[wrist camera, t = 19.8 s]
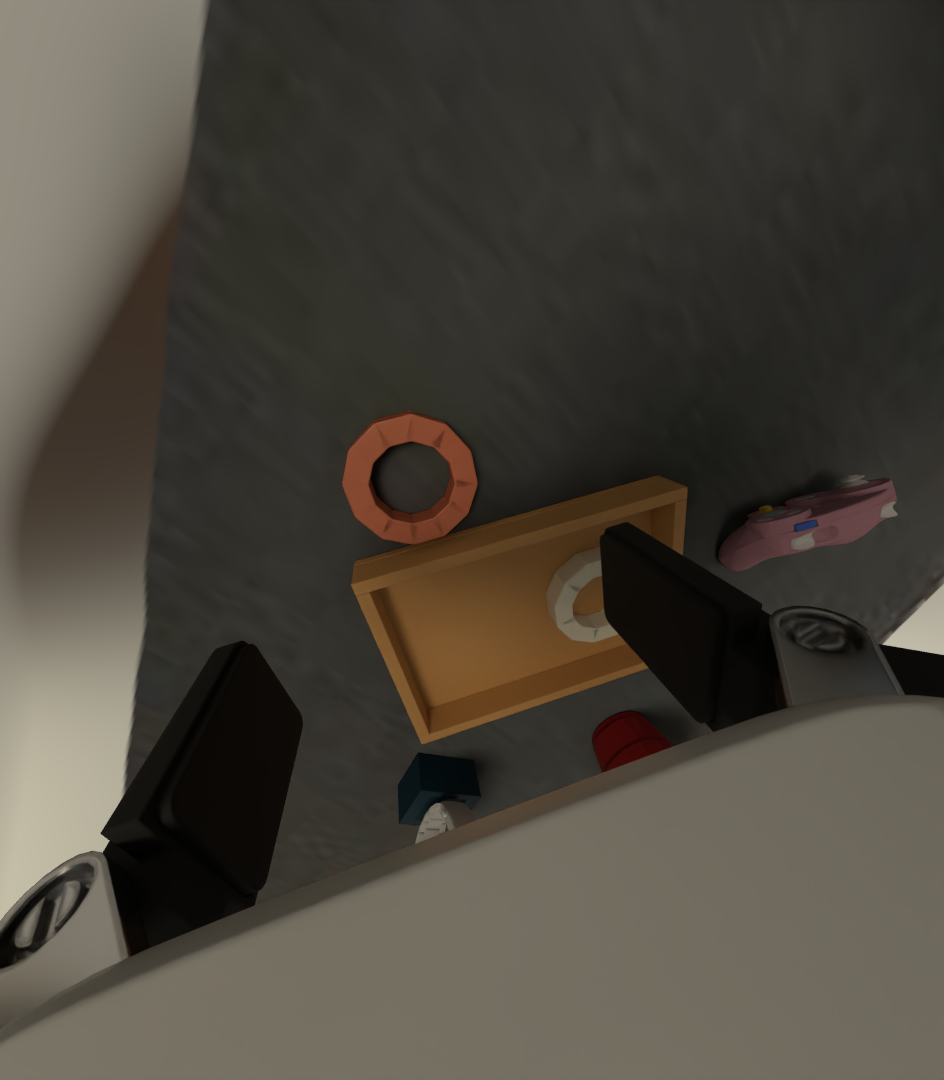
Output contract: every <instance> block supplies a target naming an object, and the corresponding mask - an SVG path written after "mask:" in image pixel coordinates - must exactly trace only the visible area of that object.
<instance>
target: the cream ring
mask: <svg viewBox="0 0 944 1080" xmlns="http://www.w3.org/2000/svg"><path fill="white" fill-rule="evenodd" d="M600 576H602V571H601V555H600V547H596V548H593V549H590V550H587V551H583V552H580V553H577V554H575V555H574V556H573V557H572V558H571V559H569V560H568V561H567V562H566V563H565V564H564V565H562V566H561V567H560V568H559V569H558V570H557V571H556V572H555V574H554V576H553V578H552V581H551V583H550V585H549V587H548V590H547V592H546V600H547V607H548V614H549V615H550V617H551V618H552V620H553V621H554V623H555V625H556V626H557V627H558V628H559V629H560V630H561V631H562V632H563V633H564V634H565V635H566V636H567V637H569V638H570V639H571V640H575V641H583V642H591V643H594V642H597V641H600V640H603V639H606V638H609V637H612V636H615V635H617V634H618V633H617V632H616V631H615V630H614V629H613V627H612V626H611V625H610V624H609V623H608V621H607V619H606V617H605V613H604V608H603V609H602V610H601V611H599V612H596V613H593V614H589V615H586V616H585V615H578V614H573V606H572V605H573V603H574V601H575V598H576V596H577V594H578V592H579V590H580V589H581V588H583V587H584V586H585V585H586V584H587V583H589V582H590V581H591V580H592V579H593V578H596V577H600Z"/></svg>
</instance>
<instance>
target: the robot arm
mask: <svg viewBox="0 0 944 1080" xmlns="http://www.w3.org/2000/svg"><path fill="white" fill-rule="evenodd" d="M600 555H601V571H602V586H603V602H604V613H605V617H606V619H607V621H608V623H609V624H610V625H611V626H612V627H613V629H614V630H615V631H616V632H617V633H618V634H619V635H620V636H621V638H622V639H623V640H624V641H625V642H626V643H627V644H628V645H629V646H630V648H631V649H632V650H633V651H634V652H635V653H636V654H637V655H638V657H639V658H640V659H641V660H642V661H643V662H644V663H645V664H646V666H647V667H648V668H649V669H650V670H651V671H652V672H653V673H654V674H655V676H656V677H657V678H658V679H659V680H660V681H661V682H662V683H663V685H664V686H665V687H666V688H667V689H668V690H669V691H670V692H671V694H672V695H673V696H674V697H675V698H676V699H677V700H678V701H679V702H680V704H681V705H682V706H683V707H684V708H685V709H686V710H687V711H688V713H689V714H690V715H691V716H692V717H693V718H694V719H695V720H696V721H697V722H699V723H706V724H707V725H708V726H709V727H710V729H711V730H712V731H713V732H712V733H710V734H707V735H704V736H701V737H698V738H695V739H693V740H690V741H687V742H684V743H681V744H679V745H676V746H673V747H671V748H668V749H665V750H662V751H660V752H657V753H654V754H652V755H649V756H646V757H644V758H641V759H638V760H636V761H633V762H630V763H628V764H625V765H622V766H620V767H617V768H614V769H612V770H609V771H606V772H603V773H601V774H598V775H595V776H593V777H590V778H587V779H585V780H582V781H579V782H577V783H574V784H571V785H569V786H566V787H563V788H561V789H558V790H555V791H553V792H550V793H547V794H545V795H542V796H539V797H537V798H534V799H532V800H529V801H526V802H524V803H521V804H518V805H516V806H513V807H510V808H508V809H505V810H502V811H500V812H497V813H495V814H492V815H489V816H487V817H484V818H481V819H479V820H476V821H473V822H471V823H468V824H466V825H463V826H460V827H458V828H455V829H452V830H450V831H447V832H445V833H442V834H439V835H437V836H434V837H431V838H429V839H426V840H424V841H421V842H418V843H416V844H413V845H410V846H408V847H405V848H403V849H400V850H397V851H395V852H392V853H389V854H387V855H384V856H382V857H379V858H377V859H374V860H371V861H369V862H366V863H364V864H361V865H358V866H356V867H353V868H351V869H348V870H345V871H343V872H340V873H338V874H335V875H332V876H330V877H327V878H325V879H322V880H319V881H317V882H314V883H312V884H309V885H307V886H304V887H301V888H299V889H296V890H294V891H291V892H288V893H286V894H283V895H281V896H278V897H275V898H273V899H270V900H268V901H265V902H262V903H260V904H257V905H255V902H256V897H257V893H258V891H259V890H261V889H262V888H263V886H264V884H265V883H266V880H267V877H268V872H269V868H270V864H271V860H272V855H273V851H274V847H275V843H276V838H277V834H278V830H279V826H280V821H281V817H282V813H283V809H284V804H285V800H286V796H287V792H288V787H289V783H290V779H291V775H292V770H293V766H294V762H295V758H296V753H297V749H298V745H299V741H300V736H301V732H302V727H303V721H302V716H301V714H300V712H299V710H298V709H297V707H296V706H295V704H294V703H293V701H292V700H291V698H290V697H289V695H288V694H287V692H286V691H285V689H284V688H283V686H282V685H281V683H280V682H279V680H278V679H277V677H276V676H275V674H274V672H273V671H272V669H271V668H270V666H269V665H268V663H267V662H266V660H265V659H264V657H263V656H262V654H261V653H260V651H259V650H258V648H257V647H256V646H255V645H253V644H249V645H248V643H246V642H244V641H239V642H236V643H233V644H230V645H226V646H223V647H220V648H217V649H215V651H214V652H213V653H212V655H211V656H210V658H209V659H208V661H207V663H206V664H205V666H204V667H203V669H202V671H201V672H200V674H199V676H198V677H197V679H196V680H195V682H194V684H193V685H192V687H191V688H190V690H189V692H188V693H187V695H186V696H185V698H184V700H183V701H182V703H181V705H180V706H179V708H178V709H177V711H176V713H175V714H174V716H173V717H172V719H171V721H170V722H169V724H168V725H167V727H166V729H165V730H164V732H163V734H162V735H161V737H160V738H159V740H158V742H157V743H156V745H155V746H154V748H153V750H152V751H151V753H150V755H149V756H148V758H147V759H146V761H145V763H144V764H143V766H142V767H141V769H140V771H139V772H138V774H137V775H136V777H135V779H134V780H133V782H132V784H131V785H130V787H129V788H128V790H127V792H126V793H125V795H124V796H123V798H122V800H121V801H120V803H119V804H118V806H117V808H116V809H115V811H114V813H113V814H112V816H111V817H110V819H109V821H108V822H107V824H106V825H105V827H104V829H103V830H102V832H101V834H102V835H103V836H104V837H106V838H107V839H108V840H110V841H109V843H108V845H107V846H106V848H105V850H104V851H103V853H102V852H96V851H90V852H86V853H83V854H79V855H77V856H75V857H74V858H71V859H69V860H67V861H66V862H64V863H62V864H61V865H59V866H58V867H56V868H55V869H53V870H52V871H51V872H49V873H48V874H46V875H45V876H44V877H43V878H42V879H40V880H39V881H38V882H37V883H36V884H35V885H34V886H32V887H31V888H30V889H29V890H28V891H27V892H26V893H25V894H24V895H23V896H22V897H21V898H20V899H19V900H18V901H17V902H16V903H15V904H14V905H13V906H12V908H11V909H10V910H9V911H8V912H7V913H6V914H5V915H4V917H3V918H2V919H1V921H0V1080H944V655H940V654H933V653H928V652H922V651H916V650H910V649H904V648H898V647H893V646H886V645H881V644H878V643H877V641H876V639H875V638H874V637H873V635H872V634H871V633H870V632H869V630H868V629H866V628H865V627H864V626H862V625H861V624H859V623H858V622H857V621H855V620H853V619H851V618H849V617H847V616H844V615H842V614H840V613H837V612H833V611H830V610H827V609H822V608H817V607H811V606H791V607H785V608H782V609H779V610H777V611H775V612H774V613H773V614H772V615H769V614H768V613H766V612H765V611H763V610H761V608H762V604H761V603H760V602H758V601H756V600H755V599H753V598H752V597H750V596H748V595H747V594H745V593H743V592H742V591H740V590H738V589H737V588H735V587H734V586H732V585H730V584H729V583H727V582H725V581H724V580H722V579H721V578H719V577H717V576H716V575H714V574H712V573H711V572H709V571H707V570H706V569H704V568H703V567H701V566H699V565H698V564H696V563H694V562H693V561H691V560H689V559H688V558H686V557H685V556H683V555H681V554H680V553H678V552H676V551H675V550H673V549H671V548H670V547H668V546H667V545H665V544H663V543H662V542H660V541H658V540H657V539H655V538H654V537H652V536H650V535H649V534H647V533H645V532H644V531H642V530H640V529H639V528H637V527H636V526H634V525H632V524H631V523H628V522H624V523H621V524H617V525H614V526H611V527H608V528H606V529H605V531H604V534H603V535H601V536H600Z"/></svg>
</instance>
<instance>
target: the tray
mask: <svg viewBox="0 0 944 1080" xmlns="http://www.w3.org/2000/svg"><path fill="white" fill-rule="evenodd" d="M687 492H688V487H686V486H684V485H681V484H679V483H676V482H674V481H671V480H669V479H666V478H663V477H661V476H659V475H656V476H652V477H649V478H645V479H642V480H638V481H635V482H631V483H628V484H624V485H621V486H617V487H614V488H610V489H607V490H603V491H600V492H596V493H593V494H589V495H586V496H582V497H579V498H575V499H572V500H568V501H565V502H561V503H558V504H554V505H551V506H547V507H544V508H540V509H537V510H533V511H530V512H526V513H523V514H519V515H516V516H512V517H508V518H505V519H501V520H498V521H494V522H491V523H487V524H484V525H480V526H477V527H473V528H470V529H466V530H463V531H459V532H456V533H452V534H449V535H445V536H443V537H439V538H436V539H432V540H429V541H425V542H422V543H418V544H414V545H410V546H407V547H403V548H400V549H396V550H393V551H389V552H386V553H382V554H379V555H375V556H372V557H368V558H365V559H361V560H357V561H355V564H354V571H353V577H352V582H351V586H352V588H353V591H354V593H355V595H356V598H357V600H358V602H359V604H360V607H361V609H362V611H363V613H364V616H365V618H366V620H367V622H368V625H369V627H370V629H371V631H372V633H373V636H374V638H375V640H376V642H377V645H378V647H379V649H380V651H381V654H382V656H383V658H384V660H385V663H386V665H387V667H388V669H389V672H390V674H391V676H392V678H393V681H394V683H395V685H396V687H397V690H398V692H399V694H400V696H401V699H402V701H403V703H404V705H405V708H406V710H407V712H408V714H409V717H410V719H411V721H412V723H413V726H414V728H415V730H416V732H417V735H418V737H419V739H420V741H421V743H422V744H425V743H428V742H431V741H434V740H437V739H440V738H443V737H446V736H449V735H452V734H455V733H457V732H460V731H463V730H466V729H469V728H472V727H475V726H478V725H481V724H484V723H487V722H490V721H493V720H496V719H499V718H502V717H505V716H508V715H511V714H514V713H517V712H520V711H523V710H526V709H529V708H531V707H534V706H537V705H540V704H543V703H546V702H549V701H552V700H555V699H558V698H561V697H564V696H567V695H570V694H573V693H576V692H579V691H582V690H585V689H588V688H591V687H594V686H597V685H600V684H603V683H605V682H608V681H611V680H614V679H617V678H620V677H623V676H626V675H629V674H632V673H635V672H638V671H641V670H644V669H647V668H648V667H647V666H646V664H645V663H644V662H643V661H642V660H641V659H640V658H639V657H638V655H637V654H636V653H635V652H634V651H633V650H632V649H631V648H630V646H629V645H628V644H627V643H626V642H625V641H624V640H623V639H622V638H621V636H620V635H619V634H617V635H615V636H612V637H609V638H606V639H603V640H600V641H597V642H594V643H591V642H583V641H575V640H571V639H570V638H569V637H567V636H566V635H565V634H564V633H563V632H562V631H561V630H560V629H559V628H558V627H557V626H556V625H555V623H554V621H553V620H552V618H551V617H550V615H549V614H548V607H547V600H546V592H547V590H548V587H549V585H550V583H551V581H552V578H553V576H554V574H555V572H556V571H557V570H558V569H559V568H560V567H561V566H562V565H564V564H565V563H566V562H567V561H568V560H569V559H571V558H572V557H573V556H574V555H575V554H577V553H580V552H583V551H587V550H590V549H593V548H596V547H600V536H601V535H603V534H604V531H605V529H606V528H608V527H611V526H614V525H617V524H621V523H624V522H628V523H631V524H632V525H634V526H636V527H637V528H639V529H640V530H642V531H644V532H645V533H647V534H649V535H650V536H652V537H654V538H655V539H657V540H658V541H660V542H662V543H663V544H665V545H667V546H668V547H670V548H671V549H673V550H675V551H676V552H678V553H680V554H681V555H683V545H684V532H685V519H686V506H687ZM572 606H573V614H578V615H585V616H586V615H589V614H593V613H596V612H599V611H601V610H602V609H603V608H604V602H603V586H602V576H600V577H596V578H593V579H592V580H591V581H590V582H589V583H587V584H586V585H585V586H584V587H583V588H581V589H580V590H579V592H578V594H577V596H576V598H575V601H574V603H573V605H572Z"/></svg>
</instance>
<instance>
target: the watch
mask: <svg viewBox="0 0 944 1080" xmlns="http://www.w3.org/2000/svg"><path fill="white" fill-rule="evenodd" d="M480 797H481V794H480V789H479V784H478V780H477V775H476V771H475V766H474V761H472V760H464V759H457V758H450V757H443V756H436V755H429V754H421V753H418V754H417V756H416V757H415V759H414V760H413V762H412V764H411V765H410V767H409V768H408V770H407V772H406V773H405V775H404V776H403V778H402V780H401V781H400V783H399V784H398V803H399V824H408V825H420V828H419V832H418V835H417V838H416V842H415V844H416V843H418V842H421V841H424V840H426V839H429V838H431V837H434V836H437V835H439V834H442V833H444V832H445V828H446V827H448V829H449V831H450V830H452V829H455V828H458V827H460V826H463V825H466V824H468V823H471V822H473V821H476V820H477V819H476V818H475V816H474V814H473V813H472V811H471V809H472V808H473V807H474V805H475V804H476V803H477V801H478V800H479V799H480Z"/></svg>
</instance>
